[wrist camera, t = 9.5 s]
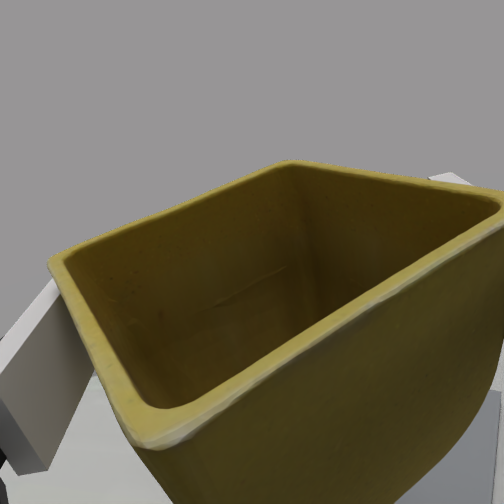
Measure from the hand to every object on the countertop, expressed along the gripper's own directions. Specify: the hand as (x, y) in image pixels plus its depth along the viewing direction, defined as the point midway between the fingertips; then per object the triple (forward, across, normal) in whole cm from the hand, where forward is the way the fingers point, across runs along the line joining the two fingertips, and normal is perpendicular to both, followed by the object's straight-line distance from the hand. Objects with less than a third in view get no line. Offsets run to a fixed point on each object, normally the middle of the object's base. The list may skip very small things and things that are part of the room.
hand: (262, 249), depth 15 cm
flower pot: (-4, 0, -7) cm, 8 cm away
